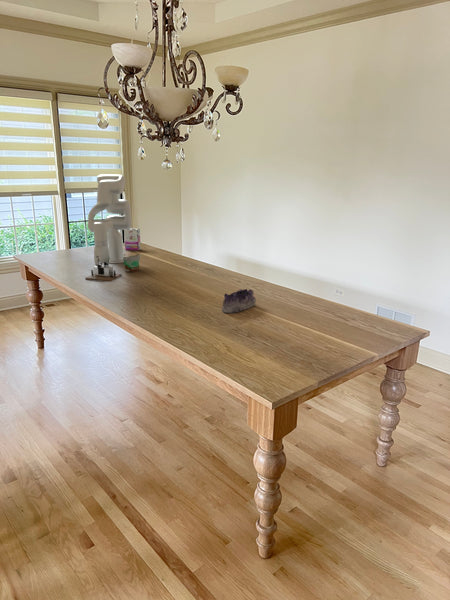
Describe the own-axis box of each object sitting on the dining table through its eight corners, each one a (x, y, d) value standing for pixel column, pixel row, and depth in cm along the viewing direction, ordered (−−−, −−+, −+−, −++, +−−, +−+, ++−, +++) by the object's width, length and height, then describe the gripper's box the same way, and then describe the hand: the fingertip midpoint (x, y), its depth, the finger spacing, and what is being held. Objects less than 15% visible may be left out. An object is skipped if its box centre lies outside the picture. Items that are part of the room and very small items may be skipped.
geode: (236, 317, 202) (234, 296, 199) (217, 314, 209) (214, 294, 206) (260, 304, 217) (258, 285, 214) (241, 302, 224) (239, 284, 221)
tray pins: (95, 273, 266) (94, 268, 264) (116, 275, 262) (115, 270, 261) (91, 275, 261) (90, 270, 260) (112, 277, 258) (112, 272, 257)
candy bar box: (140, 249, 342) (140, 228, 337) (138, 250, 338) (137, 229, 332) (127, 248, 344) (126, 227, 339) (125, 249, 339) (123, 228, 334)
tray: (98, 273, 270) (98, 271, 270) (121, 275, 266) (121, 274, 266) (85, 279, 258) (85, 277, 257) (109, 281, 254) (109, 279, 253)
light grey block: (98, 272, 265) (98, 264, 264) (113, 274, 263) (112, 266, 261) (94, 274, 261) (93, 266, 259) (108, 276, 258) (108, 268, 256)
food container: (130, 273, 271) (129, 258, 268) (123, 272, 275) (122, 256, 272) (144, 270, 281) (144, 254, 277) (138, 268, 284) (137, 253, 281)
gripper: (103, 240, 264) (105, 269, 270) (87, 245, 249) (90, 276, 254) (114, 241, 262) (116, 270, 268) (99, 246, 247) (101, 277, 253)
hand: (103, 272), depth 261 cm, fingers open, 5 cm apart
